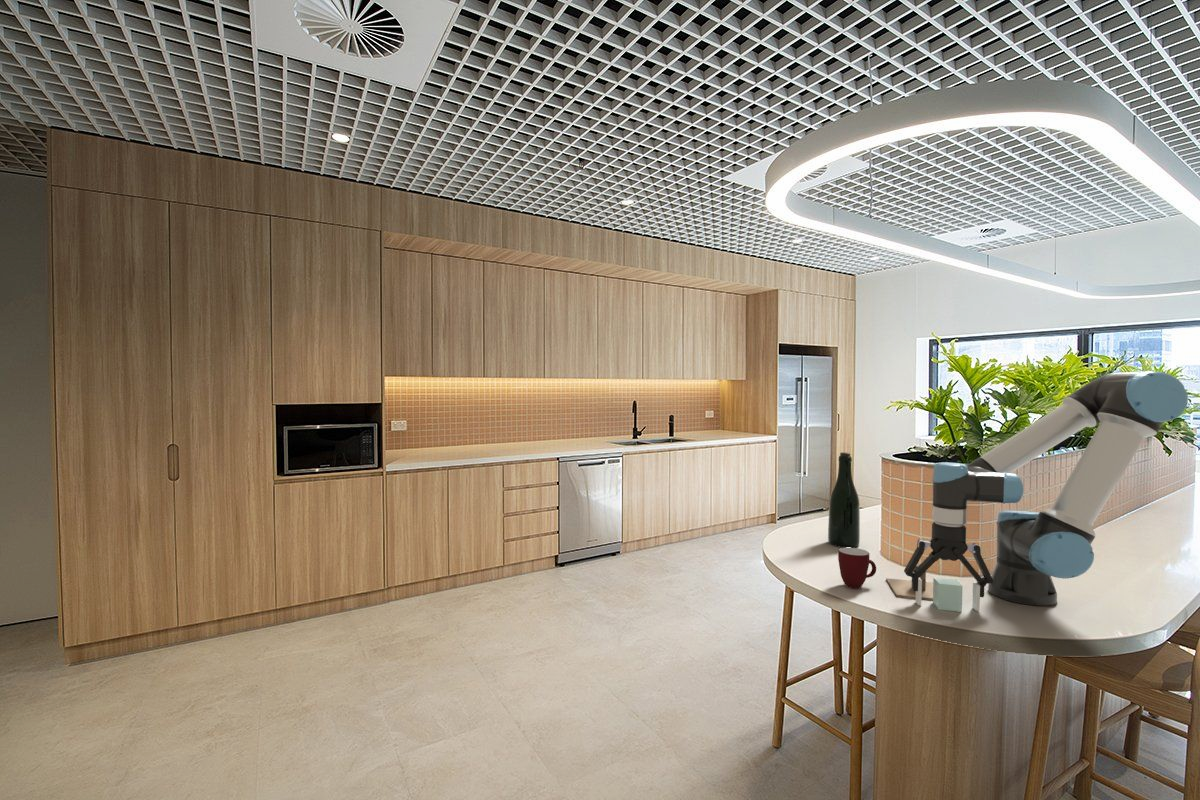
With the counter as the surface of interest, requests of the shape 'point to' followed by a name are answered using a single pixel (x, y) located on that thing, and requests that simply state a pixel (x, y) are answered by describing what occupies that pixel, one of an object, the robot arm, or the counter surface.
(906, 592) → the brown square plate
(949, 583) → the pale green block
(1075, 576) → the robot arm
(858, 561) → the mug
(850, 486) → the dark green wine bottle
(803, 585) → the counter surface
